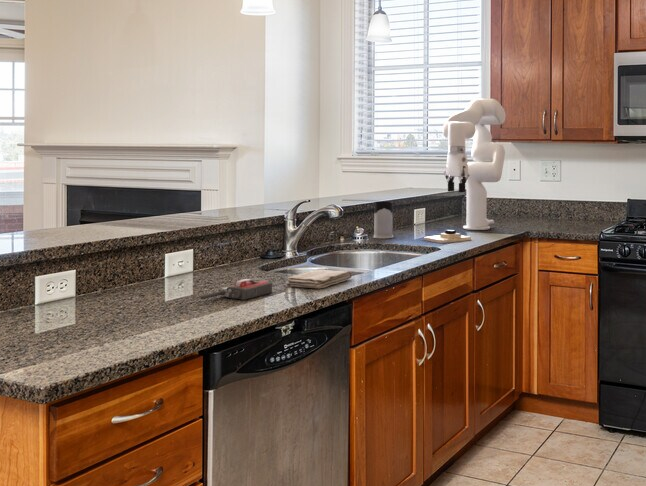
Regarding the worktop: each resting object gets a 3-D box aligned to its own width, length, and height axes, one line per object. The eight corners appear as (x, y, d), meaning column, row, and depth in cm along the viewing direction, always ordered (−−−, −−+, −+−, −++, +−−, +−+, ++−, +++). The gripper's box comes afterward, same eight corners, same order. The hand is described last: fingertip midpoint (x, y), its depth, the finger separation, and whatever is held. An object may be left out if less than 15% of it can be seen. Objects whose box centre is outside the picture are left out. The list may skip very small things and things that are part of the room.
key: (451, 233, 312) (451, 229, 312) (455, 234, 309) (455, 230, 309) (445, 234, 310) (445, 230, 310) (450, 235, 307) (450, 230, 307)
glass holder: (373, 238, 315) (373, 203, 315) (371, 234, 329) (371, 200, 329) (394, 238, 317) (394, 203, 317) (391, 234, 331) (391, 200, 331)
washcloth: (284, 286, 212) (284, 276, 212) (319, 276, 228) (319, 266, 228) (319, 290, 207) (319, 279, 207) (352, 279, 223) (352, 269, 223)
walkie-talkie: (252, 288, 209) (197, 302, 191) (252, 273, 209) (197, 285, 191) (277, 292, 205) (223, 306, 187) (277, 275, 204) (223, 288, 187)
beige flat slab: (452, 237, 321) (452, 230, 321) (471, 240, 312) (471, 232, 312) (423, 240, 311) (423, 233, 311) (441, 243, 302) (441, 236, 302)
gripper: (476, 150, 317) (476, 192, 318) (450, 150, 331) (450, 190, 331) (463, 150, 313) (462, 193, 313) (437, 150, 326) (437, 191, 326)
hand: (456, 191), depth 322 cm, fingers open, 6 cm apart
